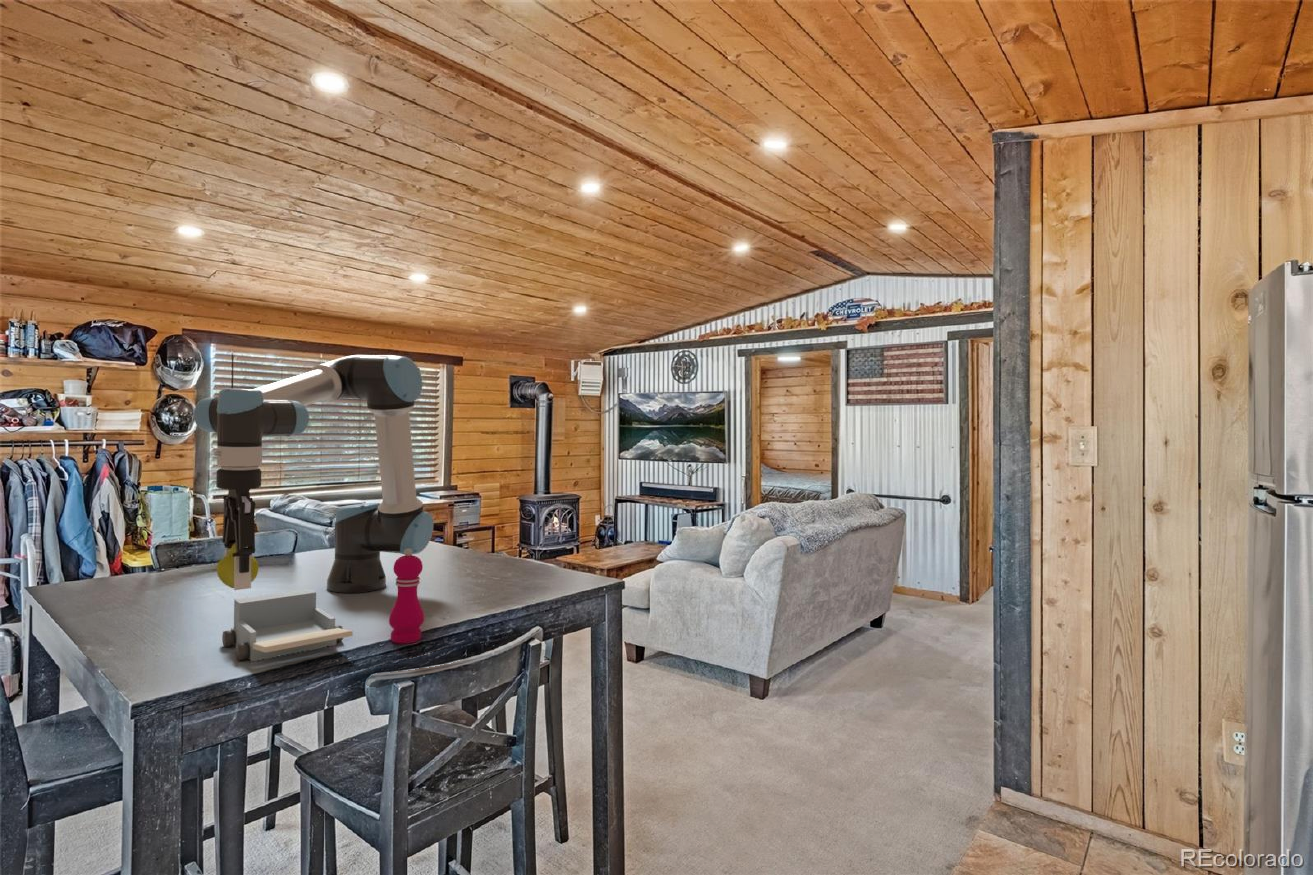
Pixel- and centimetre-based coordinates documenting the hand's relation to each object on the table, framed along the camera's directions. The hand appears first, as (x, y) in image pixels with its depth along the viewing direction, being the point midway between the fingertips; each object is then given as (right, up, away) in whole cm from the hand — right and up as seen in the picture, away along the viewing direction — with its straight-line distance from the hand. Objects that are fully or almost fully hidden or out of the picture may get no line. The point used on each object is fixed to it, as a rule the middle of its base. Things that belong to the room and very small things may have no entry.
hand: (237, 584), depth 137 cm
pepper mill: (+27, -16, +16) cm, 35 cm away
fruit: (0, -1, 0) cm, 1 cm away
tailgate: (+9, -12, +5) cm, 16 cm away
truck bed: (+4, -15, +10) cm, 18 cm away
